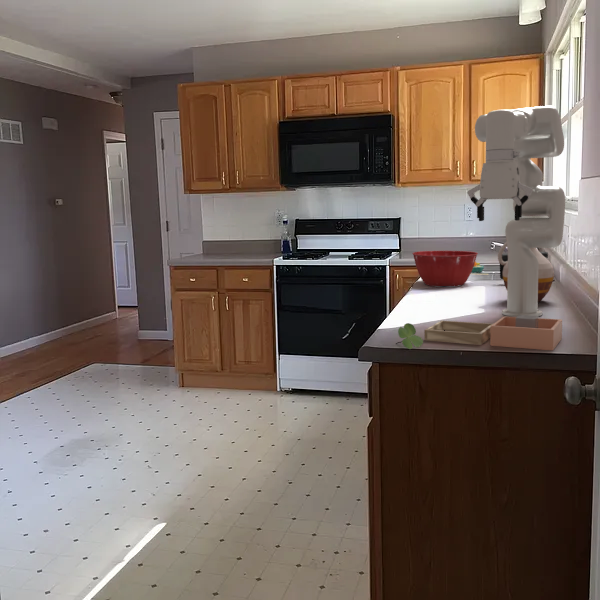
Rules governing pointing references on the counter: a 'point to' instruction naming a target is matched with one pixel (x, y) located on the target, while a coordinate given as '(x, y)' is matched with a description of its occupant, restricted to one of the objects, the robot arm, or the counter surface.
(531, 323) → the grey block
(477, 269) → the toy juicer set
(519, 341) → the bin
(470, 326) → the frame
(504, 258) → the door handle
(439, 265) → the mixing bowl
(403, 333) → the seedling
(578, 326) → the counter surface
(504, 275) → the jug
